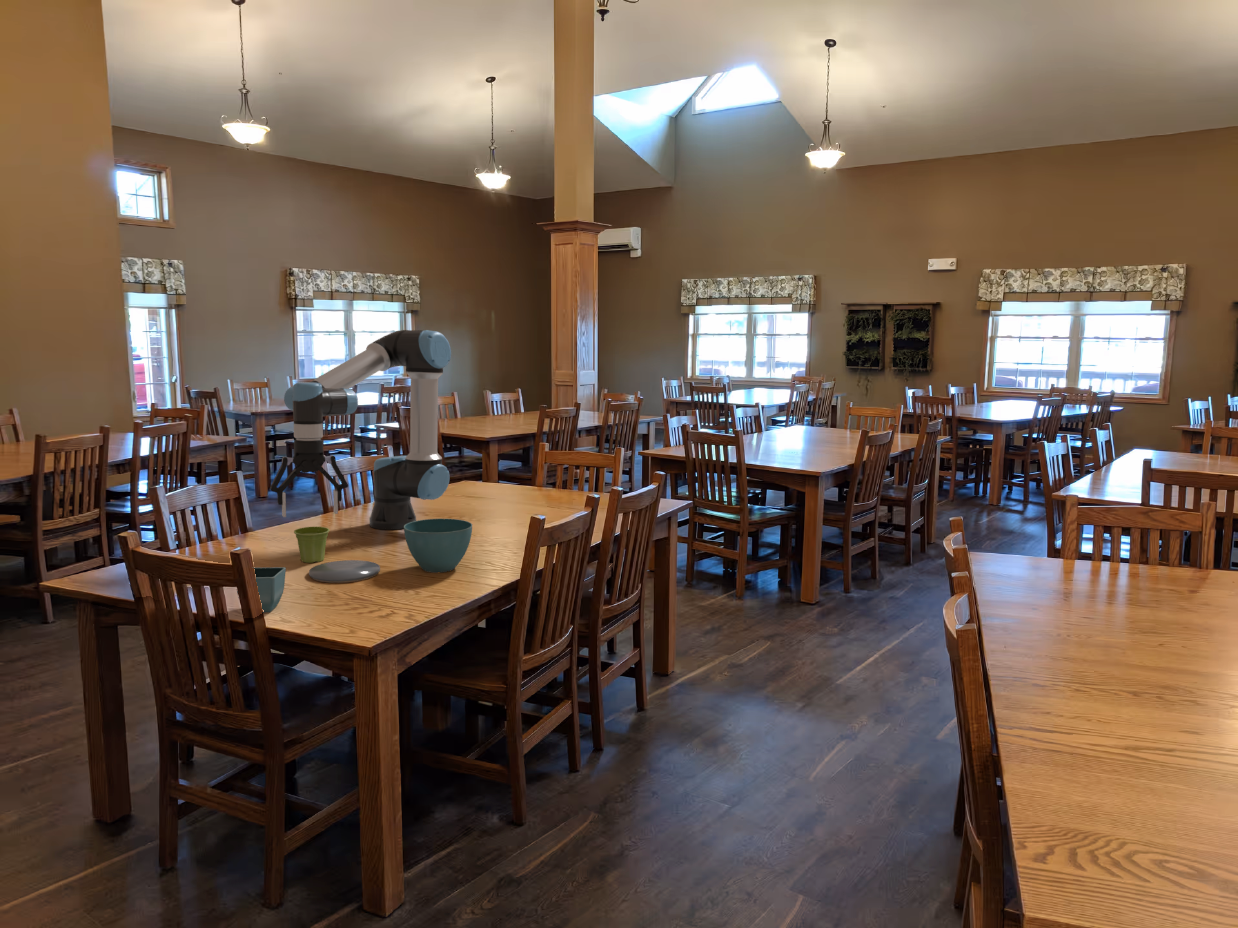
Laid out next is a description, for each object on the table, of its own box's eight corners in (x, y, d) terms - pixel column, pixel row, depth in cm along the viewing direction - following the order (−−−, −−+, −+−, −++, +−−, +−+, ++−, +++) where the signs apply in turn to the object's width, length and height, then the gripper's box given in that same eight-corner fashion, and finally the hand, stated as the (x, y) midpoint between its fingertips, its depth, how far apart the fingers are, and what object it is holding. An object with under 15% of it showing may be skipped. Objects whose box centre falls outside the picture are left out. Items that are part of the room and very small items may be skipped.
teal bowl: (394, 566, 230) (393, 522, 229) (454, 556, 241) (453, 515, 240) (421, 581, 216) (421, 535, 214) (484, 571, 227) (484, 527, 225)
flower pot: (249, 603, 196) (247, 566, 195) (287, 603, 197) (286, 566, 195) (235, 616, 187) (233, 577, 186) (276, 615, 188) (274, 577, 187)
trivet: (372, 561, 234) (372, 557, 234) (386, 578, 218) (386, 574, 218) (305, 568, 226) (304, 564, 226) (313, 586, 210) (313, 581, 210)
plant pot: (336, 556, 239) (335, 527, 237) (321, 565, 229) (320, 534, 228) (304, 555, 240) (303, 525, 238) (288, 563, 230) (287, 533, 229)
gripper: (353, 436, 238) (354, 509, 241) (258, 438, 227) (260, 514, 230) (357, 439, 232) (358, 514, 235) (260, 441, 220) (262, 520, 223)
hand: (310, 514), depth 232 cm, fingers open, 13 cm apart
